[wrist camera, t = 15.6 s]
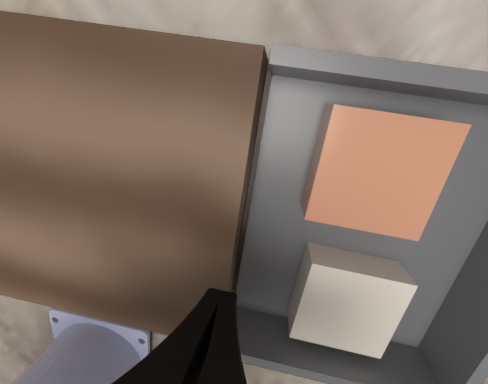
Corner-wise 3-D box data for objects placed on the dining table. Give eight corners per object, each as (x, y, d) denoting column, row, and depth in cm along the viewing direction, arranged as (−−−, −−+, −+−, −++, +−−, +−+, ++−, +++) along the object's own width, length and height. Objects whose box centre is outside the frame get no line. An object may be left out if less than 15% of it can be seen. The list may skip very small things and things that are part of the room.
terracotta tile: (304, 219, 11) (300, 203, 13) (418, 241, 11) (397, 221, 13) (334, 104, 9) (325, 104, 11) (471, 124, 9) (438, 121, 11)
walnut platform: (229, 306, 16) (218, 347, 14) (29, 261, 18) (-18, 290, 15) (268, 61, 11) (264, 45, 8) (-19, 21, 13) (-104, -3, 10)
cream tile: (289, 337, 13) (287, 309, 15) (380, 358, 13) (367, 327, 15) (312, 263, 12) (307, 241, 14) (418, 286, 11) (398, 260, 13)
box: (420, 350, 15) (458, 415, 12) (233, 307, 16) (221, 357, 13) (560, 101, 10) (691, 98, 7) (274, 61, 11) (272, 43, 8)
